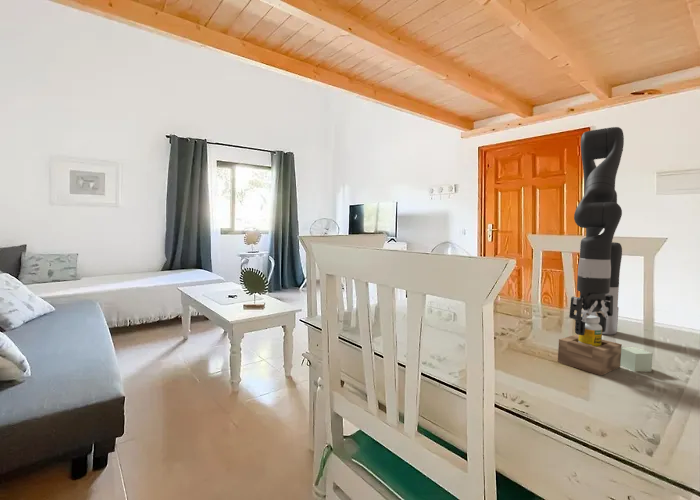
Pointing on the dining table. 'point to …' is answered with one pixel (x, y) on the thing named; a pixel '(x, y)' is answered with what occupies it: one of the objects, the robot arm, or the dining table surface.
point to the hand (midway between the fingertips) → (590, 332)
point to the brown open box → (589, 355)
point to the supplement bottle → (592, 332)
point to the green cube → (636, 359)
